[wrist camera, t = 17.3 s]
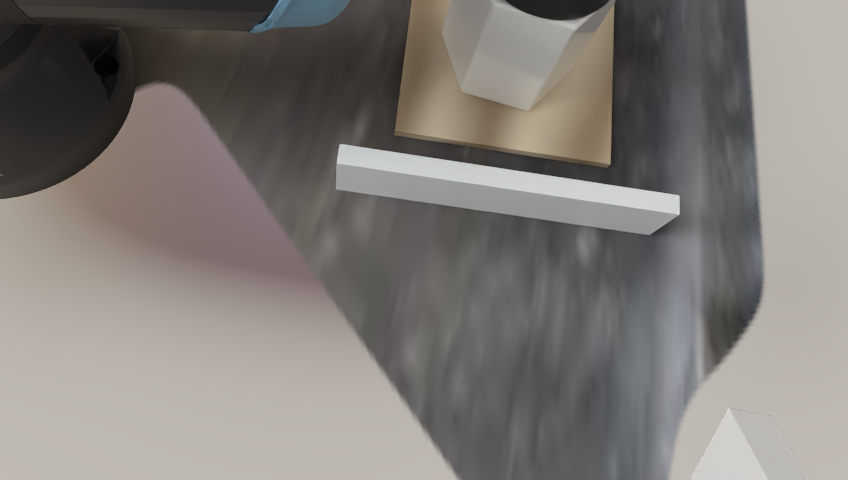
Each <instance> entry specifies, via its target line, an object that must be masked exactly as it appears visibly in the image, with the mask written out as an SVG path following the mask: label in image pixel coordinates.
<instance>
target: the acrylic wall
mask: <svg viewBox="0 0 848 480" xmlns="http://www.w3.org/2000/svg"><path fill="white" fill-rule="evenodd" d="M336 190H343V191H350V192H357V193H363V194H370V195H377V196H384V197H391V198H398V199H405V200H412V201H418V202H425V203H432V204H439V205H446V206H453V207H460V208H466V209H473V210H480V211H487V212H494V213H501V214H508V215H514V216H521V217H528V218H535V219H542V220H549V221H556V222H562V223H569V224H576V225H583V226H590V227H597V228H604V229H611V230H617V231H624V232H631V233H638V234H645V235H650V234H652V233H653V232H655V231H656V230H658V229H659V228H661V227H662V226H664V225H665V224H667V223H668V222H669V221H671V220H672V219H674V218H675V217H677V216H678V215H680V203H679V195H673V194H666V193H660V192H653V191H647V190H640V189H634V188H627V187H620V186H614V185H607V184H601V183H594V182H588V181H581V180H574V179H568V178H561V177H555V176H548V175H541V174H535V173H528V172H522V171H515V170H509V169H502V168H495V167H489V166H482V165H476V164H469V163H463V162H456V161H449V160H443V159H436V158H430V157H423V156H416V155H410V154H403V153H397V152H390V151H384V150H377V149H370V148H364V147H357V146H351V145H344V144H340V145H339V152H338V158H337V169H336Z"/></svg>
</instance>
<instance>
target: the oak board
mask: <svg viewBox="0 0 848 480" xmlns="http://www.w3.org/2000/svg"><path fill="white" fill-rule="evenodd" d="M449 3H450V0H412V1H411V9H410V17H409V24H408V32H407V40H406V47H405V55H404V63H403V71H402V78H401V86H400V94H399V101H398V109H397V117H396V125H395V132H394V135H397V136H403V137H410V138H416V139H422V140H429V141H435V142H442V143H448V144H455V145H461V146H468V147H474V148H481V149H487V150H494V151H500V152H507V153H513V154H520V155H526V156H533V157H539V158H546V159H552V160H559V161H565V162H571V163H578V164H584V165H591V166H597V167H604V168H608V167H609V165H610V164H611V126H612V83H613V39H614V4H613V6H612V8H611V9H610V11H609V12H608V14H607V15H606V17H605V18H604V20H603V22H602V23H601V25H600V26H599V28H598V29H597V31H596V33H595V34H594V36H593V37H592V39H591V40H590V42H589V44H588V45H587V47H586V48H585V50H584V51H583V53H582V55H581V56H580V58H579V59H578V61H577V62H576V64H575V66H574V67H573V69H572V70H571V72H569V73H568V74H567V75H566V76H565V77H564V78H563V79H562V80H561V81H560V82H559V83H558V84H557V85H556V86H555V87H553V88H552V89H551V90H550V91H549V92H548V93H547V94H546V95H545V96H544V97H543V98H542V99H541V100H540V101H539V102H538V103H537V104H535V105H534V106H533V107H532V108H531V109H530V110H528V111H525V110H522V109H518V108H515V107H512V106H508V105H505V104H501V103H498V102H494V101H491V100H488V99H484V98H481V97H477V96H474V95H470V94H467V93H463V92H462V91H461V90H460V87H459V84H458V81H457V78H456V75H455V72H454V69H453V66H452V63H451V60H450V57H449V54H448V51H447V47H446V44H445V41H444V38H443V35H442V29H443V25H444V22H445V18H446V14H447V11H448V7H449Z"/></svg>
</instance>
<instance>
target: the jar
mask: <svg viewBox="0 0 848 480" xmlns="http://www.w3.org/2000/svg"><path fill="white" fill-rule="evenodd" d="M615 1H616V0H450V3H449V7H448V11H447V14H446V18H445V22H444V25H443V29H442V35H443V38H444V41H445V44H446V47H447V51H448V54H449V57H450V60H451V63H452V66H453V69H454V72H455V75H456V78H457V81H458V84H459V87H460V90H461V91H462V92H463V93H467V94H470V95H474V96H477V97H481V98H484V99H488V100H491V101H494V102H498V103H501V104H505V105H508V106H512V107H515V108H518V109H522V110H525V111H528V110H530V109H531V108H532V107H533V106H534V105H535V104H537V103H538V102H539V101H540V100H541V99H542V98H543V97H544V96H545V95H546V94H547V93H548V92H549V91H550V90H551V89H552V88H553V87H555V86H556V85H557V84H558V83H559V82H560V81H561V80H562V79H563V78H564V77H565V76H566V75H567V74H568V73H569V72H571V70H572V69H573V67H574V66H575V64H576V62H577V61H578V59H579V58H580V56H581V55H582V53H583V51H584V50H585V48H586V47H587V45H588V44H589V42H590V40H591V39H592V37H593V36H594V34H595V33H596V31H597V29H598V28H599V26H600V25H601V23H602V22H603V20H604V18H605V17H606V15H607V14H608V12H609V11H610V9H611V8H612V6H613V4H614V3H615Z"/></svg>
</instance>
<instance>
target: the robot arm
mask: <svg viewBox="0 0 848 480" xmlns="http://www.w3.org/2000/svg"><path fill="white" fill-rule="evenodd" d="M349 2H350V0H0V199H5V198H12V197H18V196H23V195H27V194H30V193H34V192H37V191H40V190H43V189H46V188H48V187H51V186H53V185H56V184H58V183H60V182H62V181H64V180H66V179H68V178H69V177H71V176H73V175H75V174H76V173H78V172H79V171H81V170H82V169H84V168H85V167H86V166H87V165H89V164H90V163H91V162H92V161H94V160H95V159H96V158H97V157H98V156H99V155H100V154H101V153H102V152H103V151H104V150H105V149H106V148H107V147H108V146H109V144H110V143H111V142H112V141H113V139H114V138H115V137H116V135H117V134H118V132H119V131H120V129H121V127H122V125H123V124H124V122H125V120H126V118H127V115H128V113H129V110H130V108H131V104H132V101H133V97H134V92H135V85H136V68H135V60H134V56H133V51H132V48H131V45H130V43H129V40H128V38H127V36H126V34H125V32H124V30H123V27H133V28H166V29H200V30H233V31H249V32H250V33H261V32H264V31H267V30H269V29H270V28H287V27H307V26H318V25H323V24H326V23H328V22H330V21H332V20H333V19H335V18H336V17H337V16H338V15H340V14H341V12H342V11H343V10H344V9H345V8H346V7H347V5H348V3H349ZM690 480H810V479H809V478H808V476H807V474H806V473H805V471H804V470H803V468H802V466H801V465H800V463H799V461H798V460H797V458H796V457H795V455H794V453H793V452H792V450H791V448H790V447H789V445H788V443H787V442H786V440H785V439H784V437H783V435H782V434H781V432H780V430H779V429H778V427H777V425H776V424H775V423H774V421H773V419H772V417H771V416H769V415H764V414H758V413H753V412H748V411H744V410H738V409H733V408H728V410H727V412H726V414H725V416H724V417H723V419H722V421H721V423H720V425H719V427H718V429H717V430H716V432H715V434H714V436H713V438H712V440H711V441H710V443H709V445H708V447H707V449H706V451H705V453H704V454H703V456H702V458H701V460H700V462H699V464H698V466H697V467H696V469H695V471H694V473H693V475H692V477H691V478H690Z"/></svg>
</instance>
